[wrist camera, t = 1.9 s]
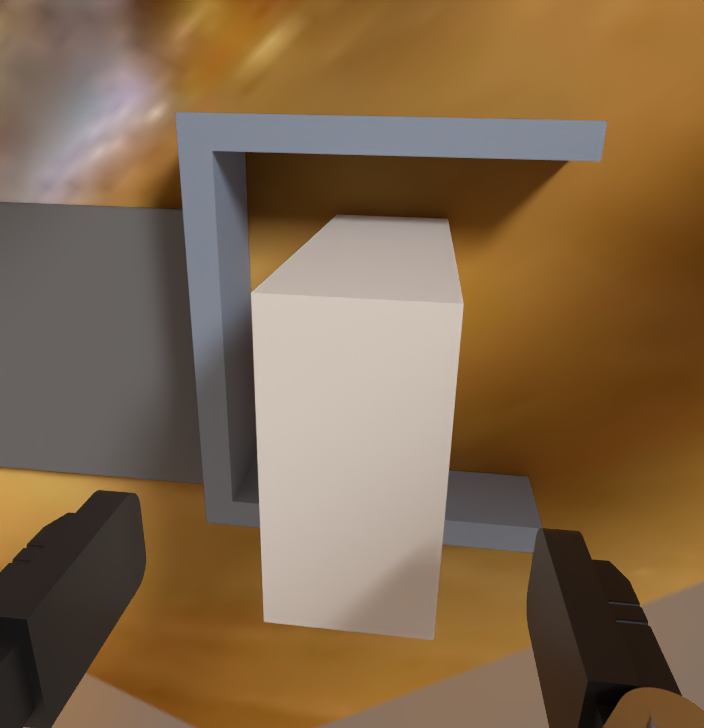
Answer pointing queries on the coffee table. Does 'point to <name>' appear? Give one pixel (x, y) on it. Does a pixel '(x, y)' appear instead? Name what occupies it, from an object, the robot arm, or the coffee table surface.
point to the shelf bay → (233, 291)
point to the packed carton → (357, 424)
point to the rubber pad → (97, 342)
